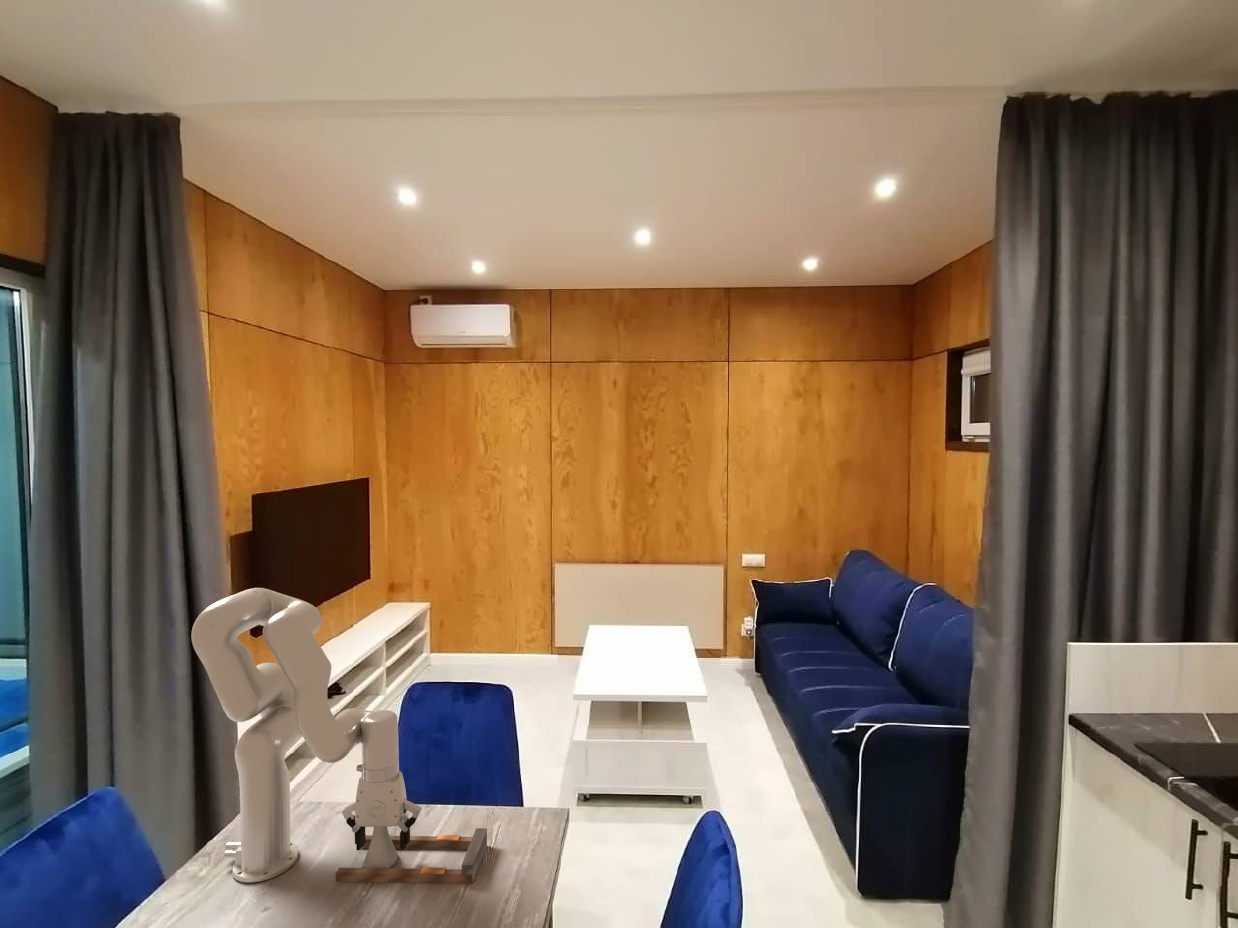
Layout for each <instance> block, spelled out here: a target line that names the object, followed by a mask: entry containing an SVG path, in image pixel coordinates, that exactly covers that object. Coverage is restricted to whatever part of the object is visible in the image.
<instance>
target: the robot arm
mask: <svg viewBox="0 0 1238 928" xmlns="http://www.w3.org/2000/svg"><path fill="white" fill-rule="evenodd" d="M322 618H323V617H322V615H321V612H320V611H319V609H318V608H317V607H315V606H314V605H313V604H311V603H309V602H307V601H305V600H303V599H301V598H300V599H299V598H297V597H293V596H290V595H286V594H285V593H284V594H283V593H280V592H277V591H275V590H272V589H268V588H265V587H253V588H249V589H245V590H243V591H240V592H237V593H236V594H232V595H228V596H227V597H224V598H221V599H220V600H216V602H214V603H212V604H210V605H209V606H208V607H206V608H205V609H204V610H203V611H202V612H200V613H199V615H198V616H197V618H196V619H195V621H194V623H193V625H192V630H191V635H190V636H191V638H190V639H191V643H192V647H193V649H194V651H195V653H196V655H197V656H198V658H199V660H200V662H201V663H202V665H203V667H204V669H205V671H206V673H207V675H208V678H209V680H210V682H211V685H212V687H213V690H214V691H215V694H216V696H217V698H218V700H219V703H220V706H221V707H222V710H223V711H224V714H225V715H226V717H228V718H229V720H230V721H233V722H236V723H243V722H247V721H250V720H252V719H253V718H256V717H257V716H258V715H260V716H261V718H260V719H258V720H257V721H255V722H254V723H253V724H251V726H250V727H248V728H247V729H246V730H245V731H244V732H243V733H242V735H240V737H239V738H238V741H237V743H236V745H235V749H234V760H235V764H236V769H237V772H238V779H239V803H240V804H239V806H240V807H239V808H240V809H239V811H240V812H239V813H240V814H239V817H240V821H239V822H240V823H239V824H240V826H239V827H240V836H239V837H240V839H239V840H240V841H228V842H227V843H226V845H225V849H224V850H225V852H224V853H223V857H224V858H226V859H227V858H228V859H230V858H234V859H235V861H234V862H233V864H232V869H231V874H232V877H233V878H234V880H236V881H239V882H241V883H246V884H247V883H250V884H251V883H258V882H263V881H266V880H270V879H273V878H275V877H277V876H279V875H281V874H283V873H284V872H286V871H287V870H289V869H290V868H291V867H292V866H293V865H294V864H295V862H296V861H297V859H298V857H299V848H298V846H297V844H296V843H294V842H292V841H291V780H290V779H291V778H290V772H289V768H288V765H287V763H286V759H285V757H286V754H288V752H289V751H290V750H291V749H292V748H293V747H294V746H295V745H296V744H297V743H298V742H299V741H300V740H301V739H302V738H303V739H304V741H305V743H306V744H307V746H308V748H309V749H310V750H311V752H312V753H313V754H314V756H316V759H319V760H320V761H321V762H324V763H327V764H333V763H338V762H340V761H342V760H343V759H344V758H346V757H347V756H348V755H349V754H350V753H351V751H352V750H353V749H354V748H355V747H356V746H357V745H359V744H361V761H362V762H361V764H357V766H356V772H359V773H361V776H360V777H359V779H358V781H357V787H356V794H355V802H353V803H351V804H349V805H348V806H345V807H344V808H343V810H342V811H341V815H342V816H343V818H344V820H346V821H345V823H346V824H347V826H349V827H350V828H351V831H352V833H354V844H355V845H356V846H355V847H356V848H355V849H356V850H355V851H360V850H361V849H363V848H362V846H363V845H364V843H365V842H366V835H367V833H366V828H374V827H387V828H389V827H396V826H398V828H400V833H399V836H400V850H401V851H404V850H406V849H405V847H406V845H407V844H408V843H409V842H410V836H411V828H412V826H413V825H414V824H415V823H416V821H417V820H418V817H419V816H420V815H421V814H420V813H421V812H422V810H423V808H422V807H421V806H419V805H417V803H413V802H412V801H409V800H407V799H408V798H407V791H406V784H405V780H404V776H403V772H402V771H401V770H400V760H399V759H400V758H399V757H400V753H399V752H400V751H399V718H398V716H397V713H395V712H394V711H392V710H389V709H387V710H386V709H384V710H376V711H375V710H374V711H372V710H367V709H366V710H365V709H363V708H362V709H361V708H355V707H353V708H346V709H344V710H342V711H340V712H339V713H338V714H337V715H336V716H334V714H333V713H332V710H331V707H330V704H329V699H328V689H329V688H328V687H329V683H330V678H331V675H332V663H331V661H330V660H329V658H328V656H327V655H326V652H325V651H324V650H323V648H322V647H321V645H320V643H319V641H318V640H317V638H316V637H315V635H316V633H318V631H319V630H320V629H321V626H322V623H323V622H322V621H323V619H322ZM257 626H262V627H263V629H262V636H263V640H264V641H265V643H266V645H267V647H268V648H269V650H270V651H271V654H272V656H273V657H274V659H275V660H276V662H277V663H273V662H263V663H260V664H259V663H258V664H257V665H256V663H255V661H254V658H253V656H252V653H251V652H250V649H248V647H247V646H246V644H244V643H243V642H242V641H240V640H239V639H238V637H239V635H240V634H242V633H245V632H246V631H249V630H251V629H253V628H255V627H257ZM407 811H408V812H410V813H412V815H411V817H409V816H408V814H407ZM353 812H354V814H353Z"/></svg>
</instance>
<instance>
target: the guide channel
mask: <svg viewBox="0 0 1238 928" xmlns="http://www.w3.org/2000/svg"><path fill="white" fill-rule="evenodd" d="M372 836H373V834H372V835H369V834H368V835H367V834H366V842H365V843H364V845H363V846H362V848H361V849H369V846H370V843H371V840H372ZM390 837H391V840H392V842H393V845H394V847H395V849H396V850H397V849H400V835H390ZM487 846H488V828H486V827H485V828H483V827H482V828H481V827H480V828H479V827H476V828H475V831H474V833H473V835H472V836H461V835H460V834H438V835H410V842H409V843H408V844H407V845H406V847H405V849H404V850H406V849H410V850H412V849H414V850H467V851H466V853H465V855H464V857H463V860H462V863H461V868H460V869H459V868H458V869H457V868H455V869H454V868H447V867H443V866H442V867H441V866H440V867H435V866H434V867H431V866H422V868H405V867H404V868H398V867H397V868H396V867H395V868H393V867H390V868H362V867H338V868H337V869H336V871H335V883H339V882H340V883H341V882H342V883H346V882H347V883H395V884H396V883H400V884H401V883H402V884H405V883H406V884H465V885H466V884H470V885H472V884H475V883H474V882H475V880H476V877H477V874H478V871H479V869H480V867H481V864H482V861H483V858H484V855H485V852H486V849H487ZM400 850H401V849H400Z"/></svg>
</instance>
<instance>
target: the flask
mask: <svg viewBox="0 0 1238 928" xmlns="http://www.w3.org/2000/svg"><path fill="white" fill-rule="evenodd" d="M388 828H389V827H373V830H372V835H373V836H372V840H371V843H370V846H369V848H367V849H368V850H367V852H366V855H365V858H364V860H363V863H362V866H361V868H392V867H393V866H394V865H396V863H397V860H398V857H399V854H398V852H397V851H398V850H397V848H395V847H394V845H393V842H392V840H391V837H390V836H391V835H390V833H389V829H388Z"/></svg>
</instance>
